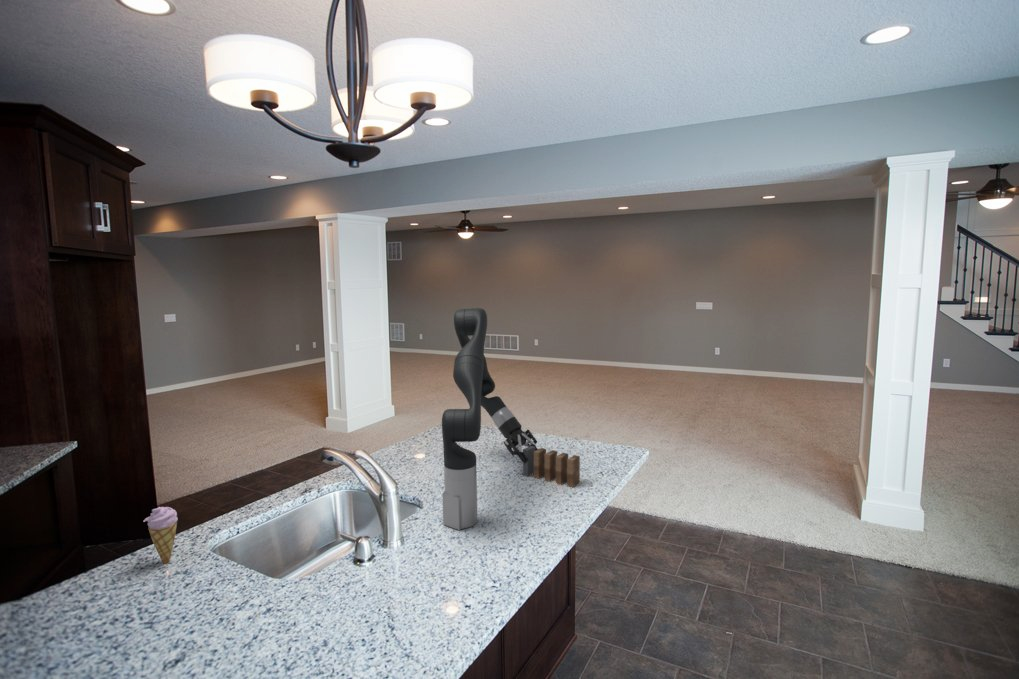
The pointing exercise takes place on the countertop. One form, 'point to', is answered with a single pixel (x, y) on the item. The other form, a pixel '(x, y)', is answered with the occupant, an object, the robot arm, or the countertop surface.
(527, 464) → the domino
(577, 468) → the domino
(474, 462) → the robot arm
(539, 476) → the domino
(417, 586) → the countertop surface
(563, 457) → the domino
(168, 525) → the ice cream cone
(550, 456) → the domino
